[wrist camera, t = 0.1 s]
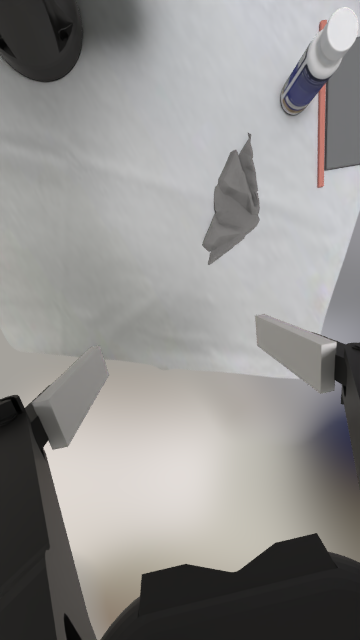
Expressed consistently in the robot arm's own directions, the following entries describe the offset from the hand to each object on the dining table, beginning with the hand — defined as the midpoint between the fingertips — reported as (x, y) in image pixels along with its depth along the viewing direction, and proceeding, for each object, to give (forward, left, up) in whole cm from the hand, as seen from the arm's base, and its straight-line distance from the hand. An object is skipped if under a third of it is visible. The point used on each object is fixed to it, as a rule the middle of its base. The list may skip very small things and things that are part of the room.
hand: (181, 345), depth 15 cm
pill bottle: (-34, +31, -28) cm, 54 cm away
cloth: (-17, +17, -29) cm, 37 cm away
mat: (-31, +43, -28) cm, 60 cm away
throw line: (-31, +36, -28) cm, 55 cm away
